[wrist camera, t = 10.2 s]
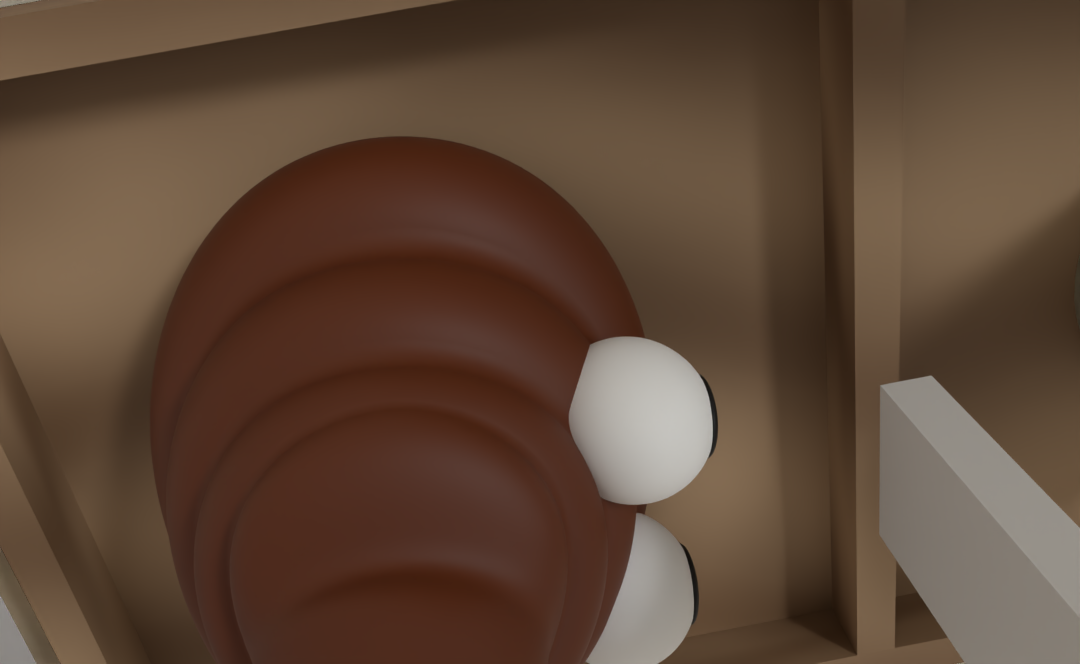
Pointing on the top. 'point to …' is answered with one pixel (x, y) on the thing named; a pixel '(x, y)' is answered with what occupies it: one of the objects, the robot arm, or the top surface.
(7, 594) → the top surface
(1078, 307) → the jar
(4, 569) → the top surface
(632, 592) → the poop emoji
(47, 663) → the top surface
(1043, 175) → the divided wooden tray
